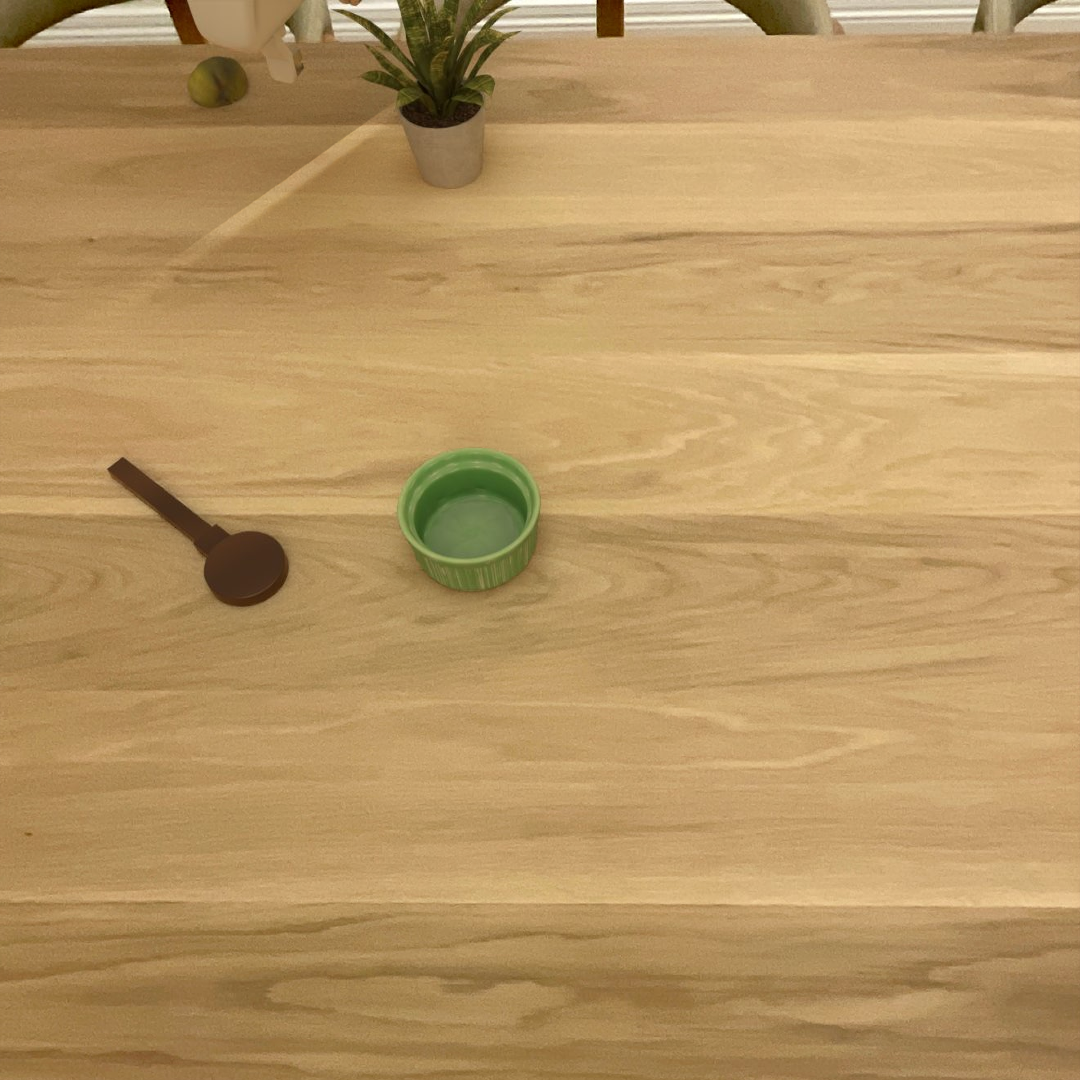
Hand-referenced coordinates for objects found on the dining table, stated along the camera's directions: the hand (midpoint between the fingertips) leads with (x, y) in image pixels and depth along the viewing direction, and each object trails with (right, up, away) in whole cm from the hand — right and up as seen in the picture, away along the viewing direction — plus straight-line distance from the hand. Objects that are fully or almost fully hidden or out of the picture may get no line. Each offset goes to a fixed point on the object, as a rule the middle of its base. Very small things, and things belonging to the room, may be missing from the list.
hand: (321, 36), depth 80 cm
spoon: (-8, -34, -2) cm, 35 cm away
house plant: (+8, -3, +17) cm, 19 cm away
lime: (-13, +4, +22) cm, 26 cm away
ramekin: (+11, -35, -3) cm, 37 cm away
